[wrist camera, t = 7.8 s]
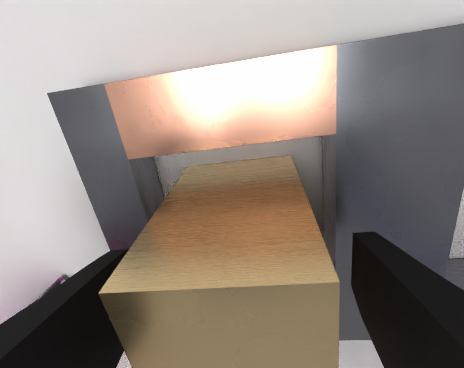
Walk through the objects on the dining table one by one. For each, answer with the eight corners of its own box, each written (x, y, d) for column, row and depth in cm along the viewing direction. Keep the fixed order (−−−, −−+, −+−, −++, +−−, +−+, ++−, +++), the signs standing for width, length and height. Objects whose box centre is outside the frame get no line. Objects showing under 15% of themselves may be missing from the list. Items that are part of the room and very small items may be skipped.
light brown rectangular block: (296, 243, 12) (337, 427, 6) (205, 249, 13) (157, 423, 7) (291, 155, 11) (339, 282, 4) (187, 166, 11) (98, 293, 5)
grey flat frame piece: (621, 293, 12) (686, 333, 10) (161, 310, 15) (147, 343, 13) (803, -32, 7) (985, -64, 6) (83, 88, 10) (47, 93, 9)
